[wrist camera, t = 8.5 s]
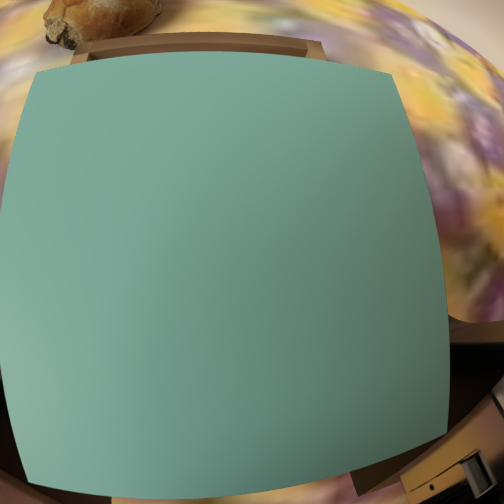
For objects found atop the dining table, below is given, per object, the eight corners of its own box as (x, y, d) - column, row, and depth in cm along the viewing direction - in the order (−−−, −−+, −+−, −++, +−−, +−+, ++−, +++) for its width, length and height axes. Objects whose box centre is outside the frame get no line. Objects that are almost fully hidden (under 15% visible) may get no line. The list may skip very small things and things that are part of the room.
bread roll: (154, 66, 23) (194, -6, 17) (39, 74, 17) (56, -15, 11) (133, 12, 24) (163, -48, 18) (40, 14, 18) (59, -55, 12)
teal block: (253, 343, 15) (446, 432, 3) (161, 350, 14) (28, 482, 2) (245, 253, 16) (391, 74, 3) (155, 258, 15) (36, 72, 3)
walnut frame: (337, 184, 20) (354, 169, 17) (58, 195, 16) (42, 179, 14) (310, 62, 21) (320, 41, 19) (84, 66, 18) (77, 44, 16)
